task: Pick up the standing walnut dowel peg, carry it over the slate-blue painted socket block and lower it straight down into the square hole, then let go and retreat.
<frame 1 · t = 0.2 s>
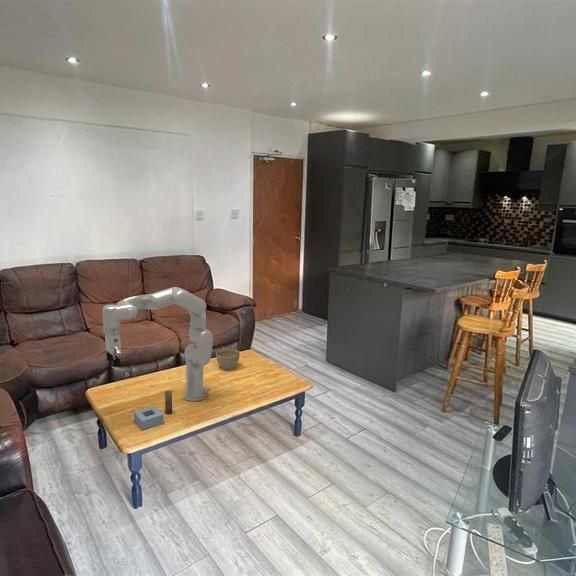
hand: (113, 363, 204), 31 cm above the table, fingers open, 9 cm apart
socket block: (149, 422, 210), on the table
peg: (168, 412, 219), on the table
planter bowl: (227, 368, 282), on the table
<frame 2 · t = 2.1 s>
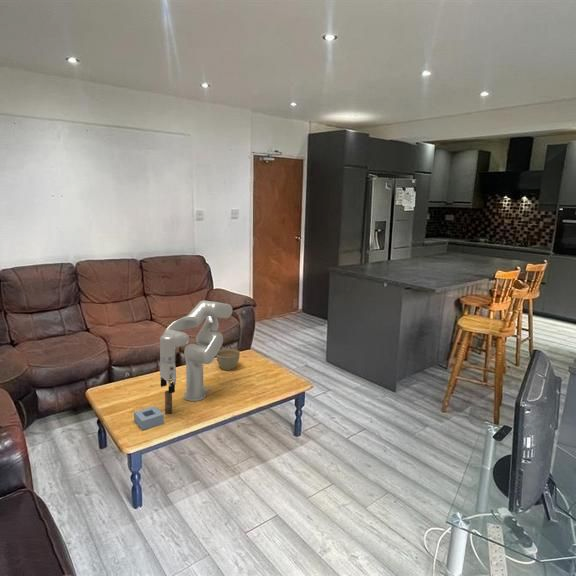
hand: (167, 389, 216), 14 cm above the table, fingers open, 9 cm apart
nothing on the table moved.
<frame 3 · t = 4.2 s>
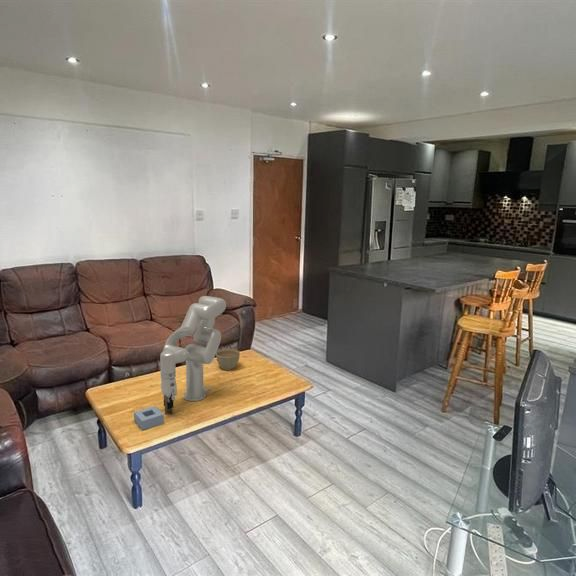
hand: (168, 406, 219), 4 cm above the table, fingers closed on peg, 3 cm apart
peg: (168, 412, 219), on the table, touching gripper
everything else where it was.
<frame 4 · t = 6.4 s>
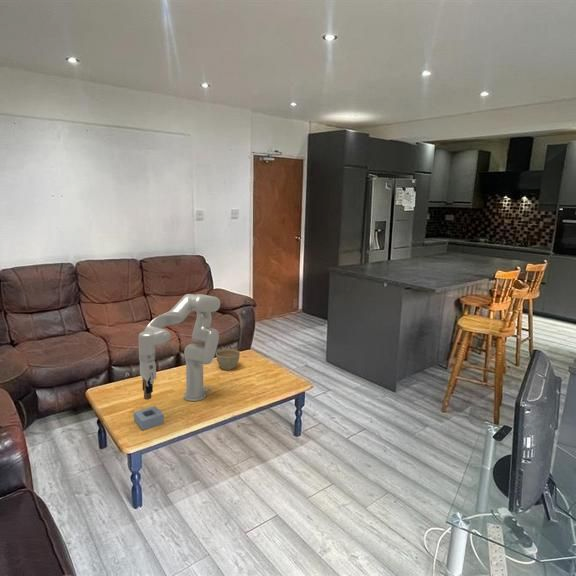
hand: (147, 391, 206), 17 cm above the table, fingers closed on peg, 3 cm apart
peg: (147, 397, 206), point 14 cm above the table, touching gripper
everything else where it was.
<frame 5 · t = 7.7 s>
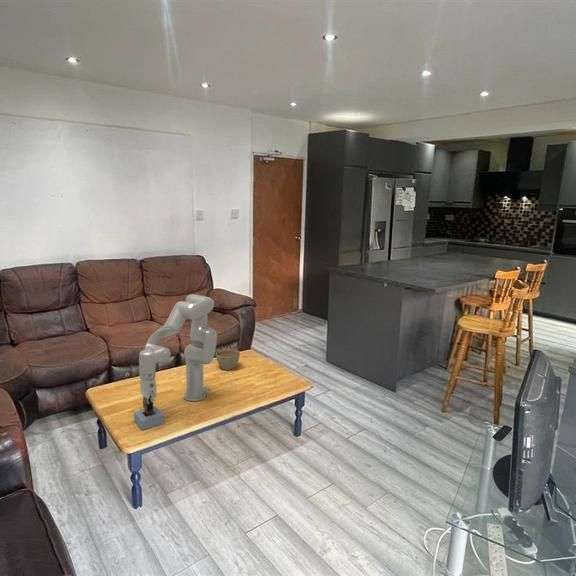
hand: (148, 408, 208), 8 cm above the table, fingers closed on peg, 3 cm apart
peg: (148, 415, 208), point 4 cm above the table, touching gripper
everything else where it was.
when the fingers open (6 cm above the table, at t = 8.7 s): peg drops 2 cm, resting in socket block.
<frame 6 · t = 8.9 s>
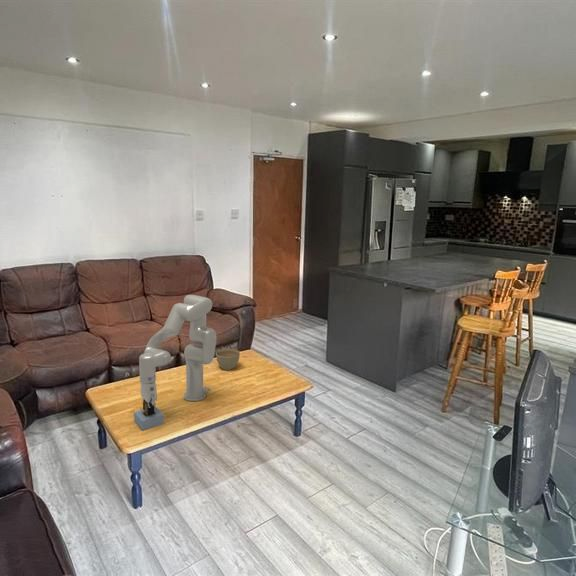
hand: (148, 411, 208), 6 cm above the table, fingers open, 5 cm apart
peg: (149, 422, 210), resting in socket block
everything else where it was.
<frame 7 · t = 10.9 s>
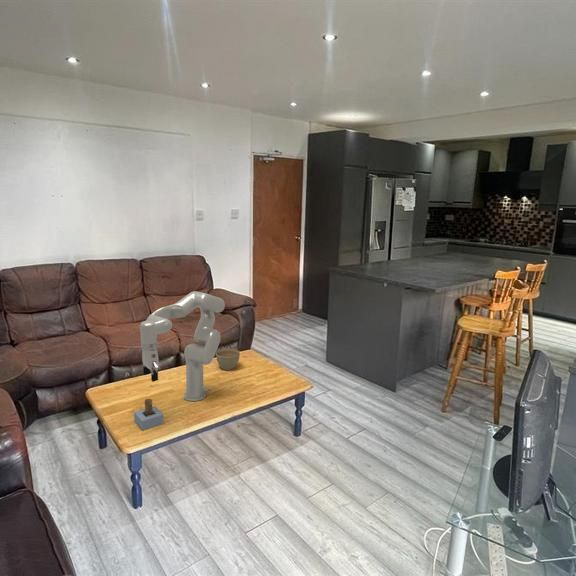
hand: (150, 377, 208), 23 cm above the table, fingers open, 9 cm apart
nothing on the table moved.
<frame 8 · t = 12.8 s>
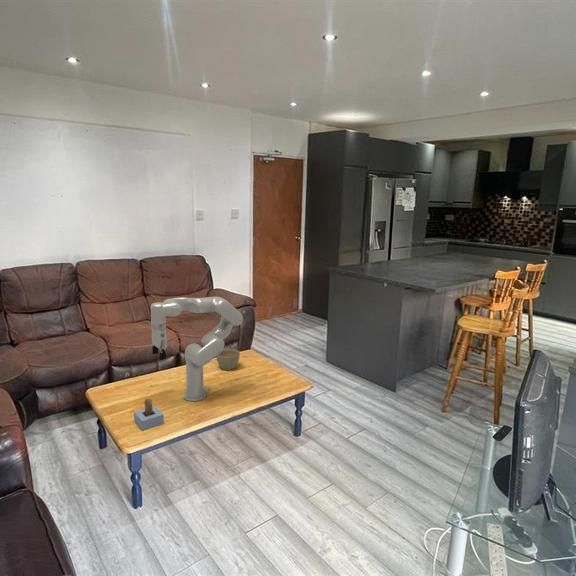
hand: (159, 356, 222), 28 cm above the table, fingers open, 9 cm apart
nothing on the table moved.
at the end: peg 0.0 cm off-centre on the socket block, point 0.0 cm above the socket block's base; peg tilted 0°; the gripper is holding nothing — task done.
